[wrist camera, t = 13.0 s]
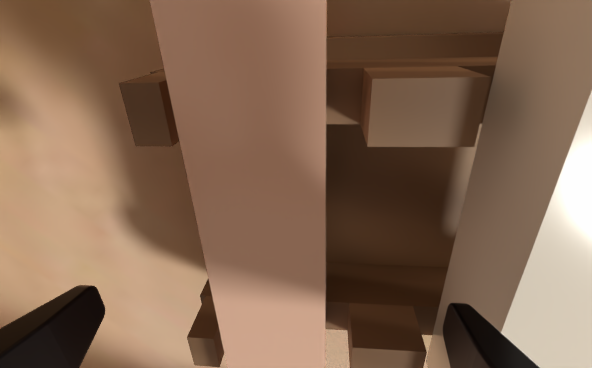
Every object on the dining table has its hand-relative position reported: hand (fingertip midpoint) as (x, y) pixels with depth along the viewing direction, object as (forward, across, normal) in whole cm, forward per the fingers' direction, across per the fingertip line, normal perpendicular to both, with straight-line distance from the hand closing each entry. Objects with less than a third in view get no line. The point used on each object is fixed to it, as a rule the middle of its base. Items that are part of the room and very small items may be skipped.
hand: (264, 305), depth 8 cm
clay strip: (+4, 0, 0) cm, 4 cm away
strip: (+4, -8, 0) cm, 8 cm away
